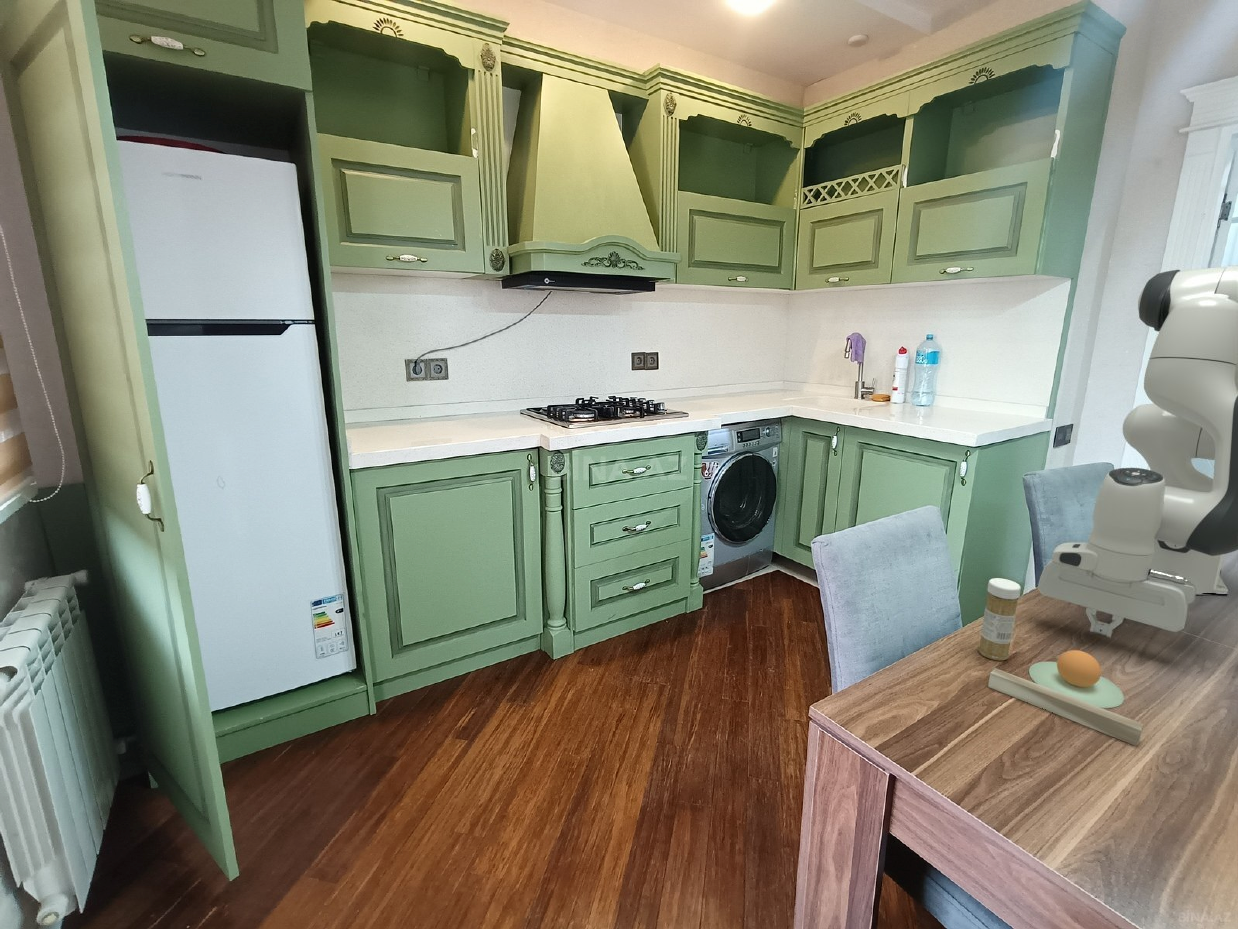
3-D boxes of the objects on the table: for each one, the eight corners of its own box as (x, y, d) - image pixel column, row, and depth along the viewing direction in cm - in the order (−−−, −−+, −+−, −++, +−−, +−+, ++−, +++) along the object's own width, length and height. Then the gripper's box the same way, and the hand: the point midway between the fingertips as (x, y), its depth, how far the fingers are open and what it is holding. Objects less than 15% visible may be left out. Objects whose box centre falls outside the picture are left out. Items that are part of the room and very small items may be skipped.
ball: (1064, 641, 96) (1057, 649, 92) (1107, 655, 92) (1101, 664, 88) (1057, 672, 97) (1049, 681, 93) (1099, 687, 93) (1093, 697, 89)
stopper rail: (992, 681, 94) (994, 667, 93) (1139, 739, 81) (1143, 724, 80) (988, 686, 92) (990, 672, 92) (1137, 746, 79) (1141, 730, 79)
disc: (1039, 654, 101) (1040, 653, 101) (1129, 685, 93) (1130, 684, 93) (1019, 682, 93) (1019, 681, 93) (1115, 719, 85) (1116, 718, 85)
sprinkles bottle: (1004, 650, 103) (1016, 579, 99) (1011, 664, 98) (1025, 590, 95) (974, 645, 104) (985, 575, 101) (980, 659, 100) (992, 586, 97)
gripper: (1201, 575, 96) (1181, 650, 100) (1051, 541, 111) (1038, 607, 114) (1197, 586, 92) (1177, 664, 96) (1042, 549, 107) (1029, 618, 110)
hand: (1100, 633), depth 105 cm, fingers closed
